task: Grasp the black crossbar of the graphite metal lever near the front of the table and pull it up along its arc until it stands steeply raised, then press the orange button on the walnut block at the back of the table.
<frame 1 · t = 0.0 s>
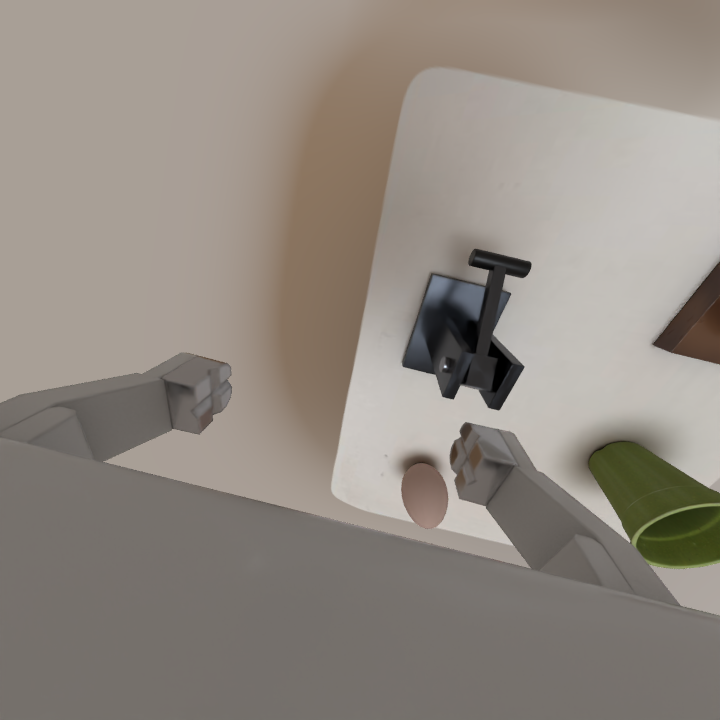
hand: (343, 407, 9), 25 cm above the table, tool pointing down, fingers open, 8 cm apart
egg: (420, 466, 43), on the table
plant pot: (614, 457, 38), on the table
bracket: (450, 330, 32), on the table
lever: (486, 320, 23), point 9 cm above the table, hinge at -30.0°
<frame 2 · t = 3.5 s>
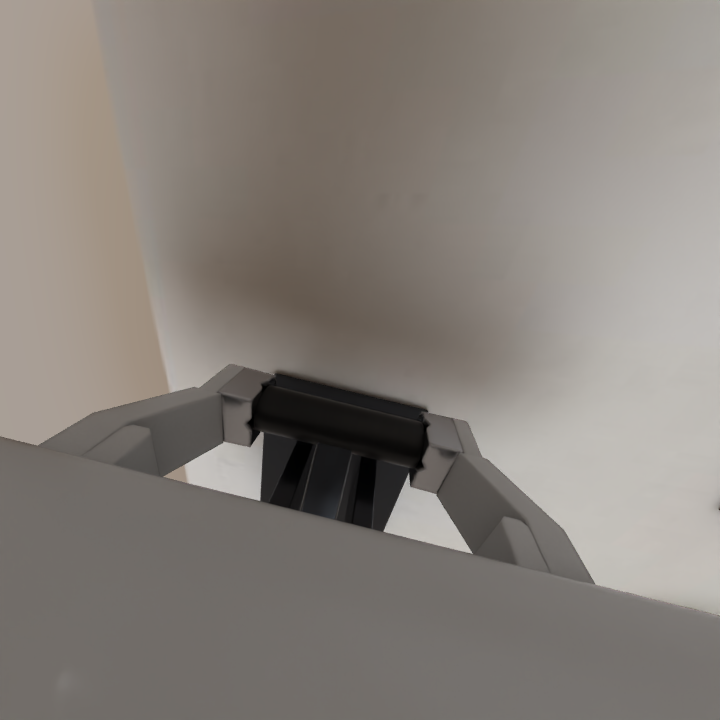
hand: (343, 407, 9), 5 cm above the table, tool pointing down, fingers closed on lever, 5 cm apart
bracket: (334, 463, 17), on the table
lever: (297, 598, 8), point 9 cm above the table, hinge at -30.0°, touching gripper
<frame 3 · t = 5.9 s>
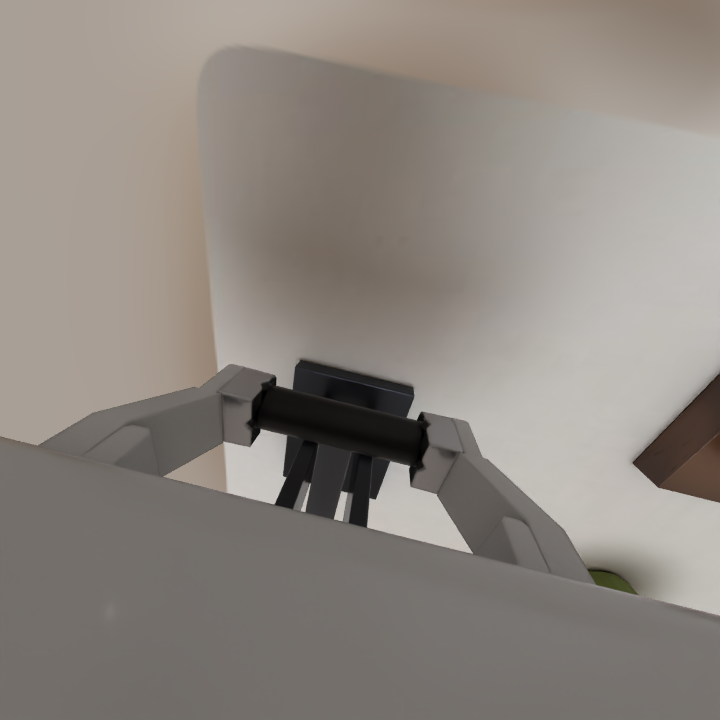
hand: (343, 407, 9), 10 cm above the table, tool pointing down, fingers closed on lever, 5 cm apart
plant pot: (588, 585, 28), on the table
bracket: (342, 431, 22), on the table
lever: (317, 525, 11), point 11 cm above the table, hinge at -1.6°, touching gripper
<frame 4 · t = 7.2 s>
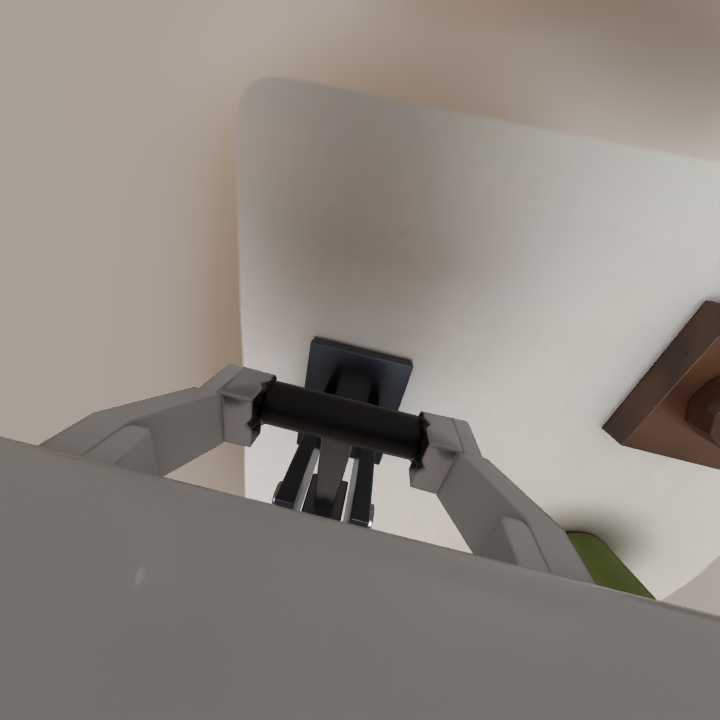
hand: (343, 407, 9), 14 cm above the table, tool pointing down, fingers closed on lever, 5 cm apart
plant pot: (570, 547, 31), on the table
bracket: (350, 402, 26), on the table
lever: (329, 477, 12), point 13 cm above the table, hinge at 19.3°, touching gripper
button block: (707, 387, 21), on the table
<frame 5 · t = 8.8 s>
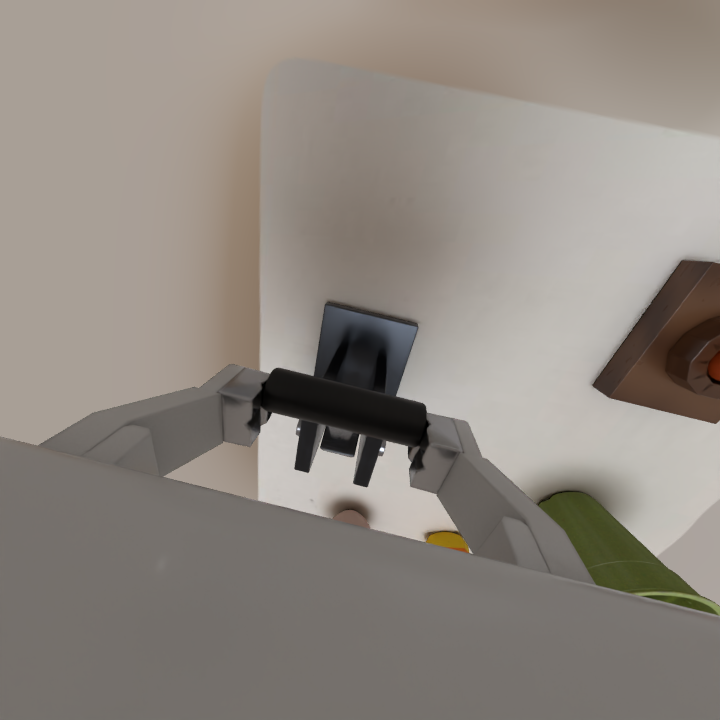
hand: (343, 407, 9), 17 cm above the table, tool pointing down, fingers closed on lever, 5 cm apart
egg: (352, 512, 38), on the table
plant pot: (565, 508, 33), on the table
candy corn: (444, 535, 38), on the table
bracket: (359, 365, 28), on the table
lever: (342, 427, 13), point 14 cm above the table, hinge at 42.6°, touching gripper
button block: (687, 343, 23), on the table
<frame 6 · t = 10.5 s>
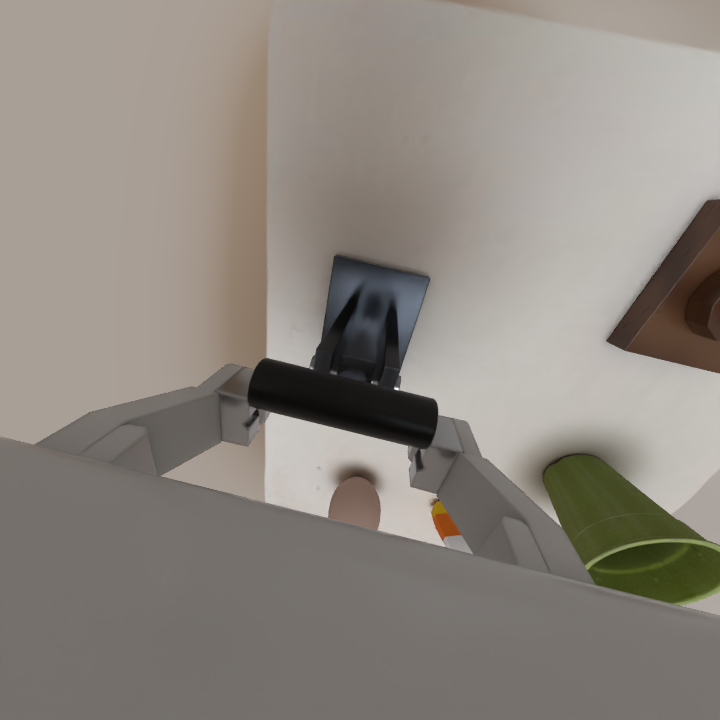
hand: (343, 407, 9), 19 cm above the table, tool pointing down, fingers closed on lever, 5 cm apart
egg: (358, 479, 38), on the table
plant pot: (573, 472, 33), on the table
candy corn: (450, 502, 38), on the table
bracket: (368, 323, 27), on the table
lever: (352, 382, 13), point 15 cm above the table, hinge at 64.1°, touching gripper
button block: (706, 293, 22), on the table
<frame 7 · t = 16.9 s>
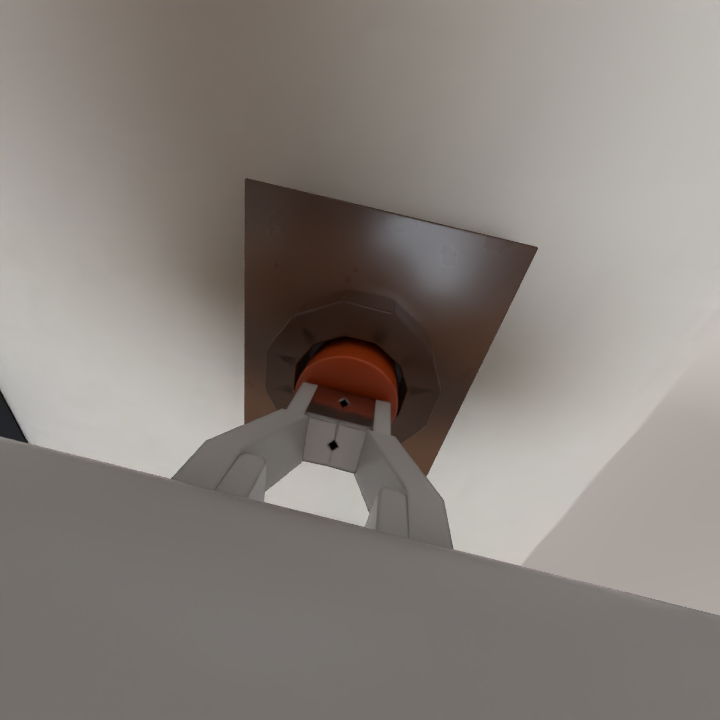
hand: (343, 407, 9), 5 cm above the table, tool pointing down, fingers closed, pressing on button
button: (348, 389, 10), point 4 cm above the table, slide at -0.4 cm, touching gripper
button block: (360, 347, 13), on the table
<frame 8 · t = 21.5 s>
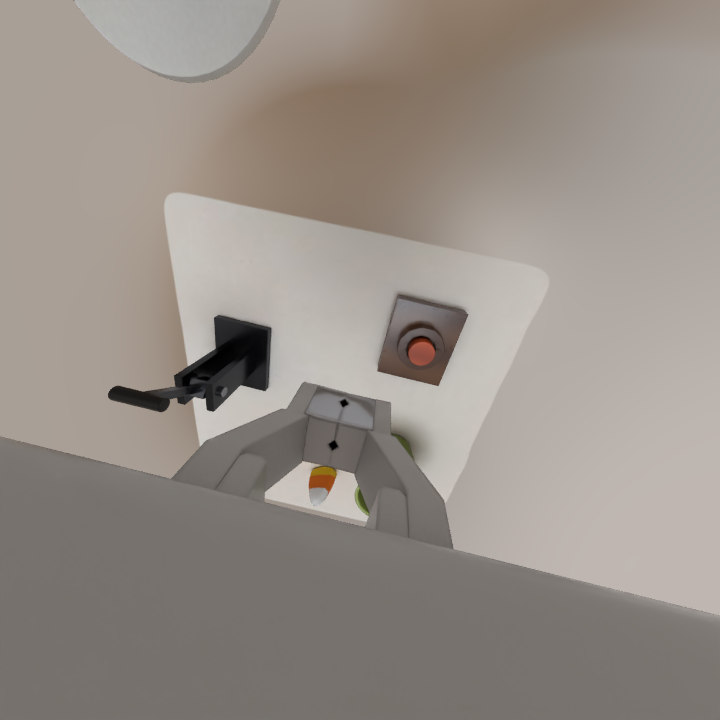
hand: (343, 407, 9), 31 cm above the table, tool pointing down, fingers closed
plant pot: (392, 446, 51), on the table
candy corn: (324, 469, 56), on the table
bracket: (244, 353, 45), on the table
button: (421, 351, 36), point 5 cm above the table, slide at 0.1 cm
lever: (178, 391, 30), point 15 cm above the table, hinge at 63.8°
button block: (418, 339, 40), on the table
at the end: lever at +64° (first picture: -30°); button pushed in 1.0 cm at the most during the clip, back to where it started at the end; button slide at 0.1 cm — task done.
